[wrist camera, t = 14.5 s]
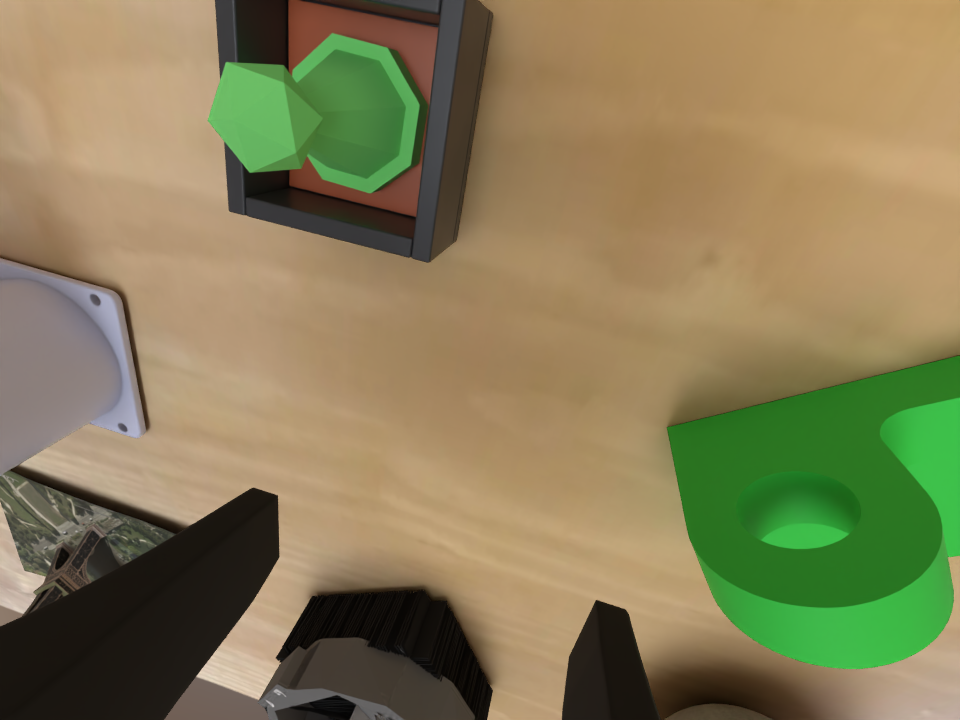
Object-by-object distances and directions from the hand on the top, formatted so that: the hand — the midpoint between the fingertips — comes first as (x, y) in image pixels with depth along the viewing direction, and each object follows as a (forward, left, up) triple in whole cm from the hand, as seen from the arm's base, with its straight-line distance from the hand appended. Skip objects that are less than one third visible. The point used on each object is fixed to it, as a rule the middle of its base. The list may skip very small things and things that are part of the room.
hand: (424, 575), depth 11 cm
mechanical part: (+13, +1, -10) cm, 16 cm away
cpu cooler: (-2, -19, -10) cm, 22 cm away
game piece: (-6, +8, -9) cm, 13 cm away
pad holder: (-6, +8, -9) cm, 14 cm away
